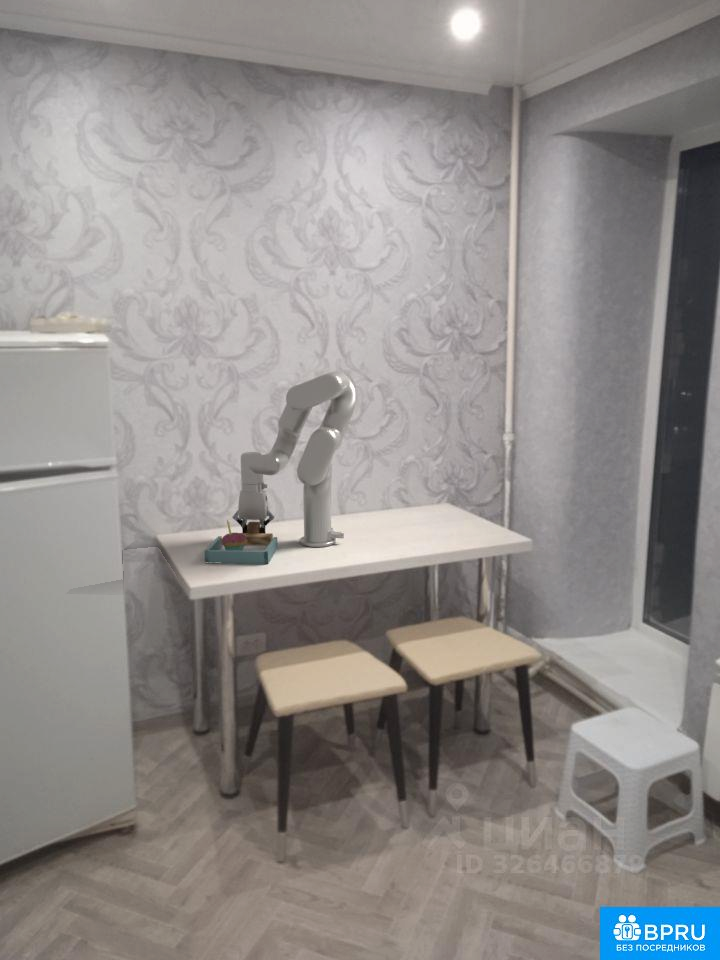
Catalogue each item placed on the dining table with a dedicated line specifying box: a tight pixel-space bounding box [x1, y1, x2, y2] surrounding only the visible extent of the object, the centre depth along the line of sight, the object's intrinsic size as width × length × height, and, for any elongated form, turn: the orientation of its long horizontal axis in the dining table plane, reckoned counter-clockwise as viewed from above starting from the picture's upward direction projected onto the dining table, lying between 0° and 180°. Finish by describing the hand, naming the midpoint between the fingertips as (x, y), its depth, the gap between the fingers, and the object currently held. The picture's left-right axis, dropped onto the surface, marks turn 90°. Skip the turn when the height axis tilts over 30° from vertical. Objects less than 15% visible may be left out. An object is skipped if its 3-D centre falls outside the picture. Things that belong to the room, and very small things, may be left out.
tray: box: [203, 535, 279, 565], centre depth 240 cm, size 20×17×4 cm
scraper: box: [240, 521, 274, 546], centre depth 256 cm, size 14×8×6 cm, turn 86°
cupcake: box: [221, 519, 247, 551], centre depth 241 cm, size 9×8×12 cm
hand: (254, 536), depth 258 cm, fingers open, 5 cm apart
